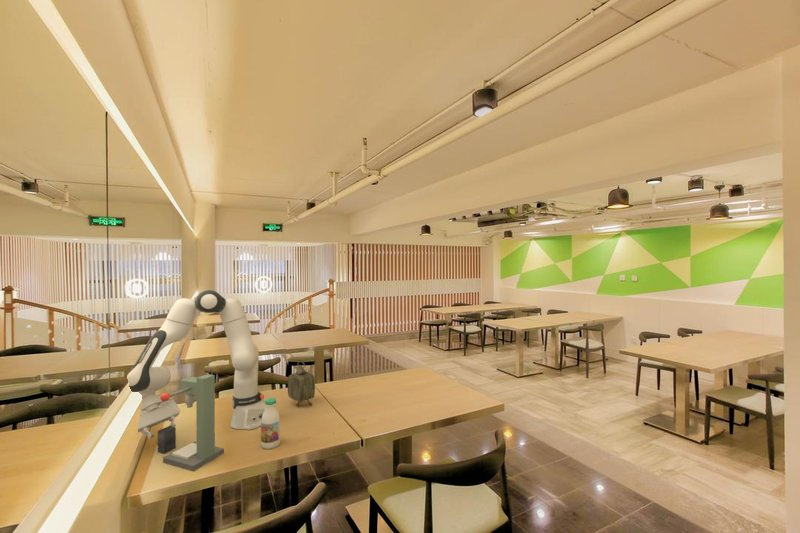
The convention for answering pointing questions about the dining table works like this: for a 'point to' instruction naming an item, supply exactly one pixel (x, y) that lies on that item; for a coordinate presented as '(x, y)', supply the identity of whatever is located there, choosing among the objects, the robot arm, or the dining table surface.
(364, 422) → the dining table surface
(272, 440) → the milk bottle
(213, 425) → the press
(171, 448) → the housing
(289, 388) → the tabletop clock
